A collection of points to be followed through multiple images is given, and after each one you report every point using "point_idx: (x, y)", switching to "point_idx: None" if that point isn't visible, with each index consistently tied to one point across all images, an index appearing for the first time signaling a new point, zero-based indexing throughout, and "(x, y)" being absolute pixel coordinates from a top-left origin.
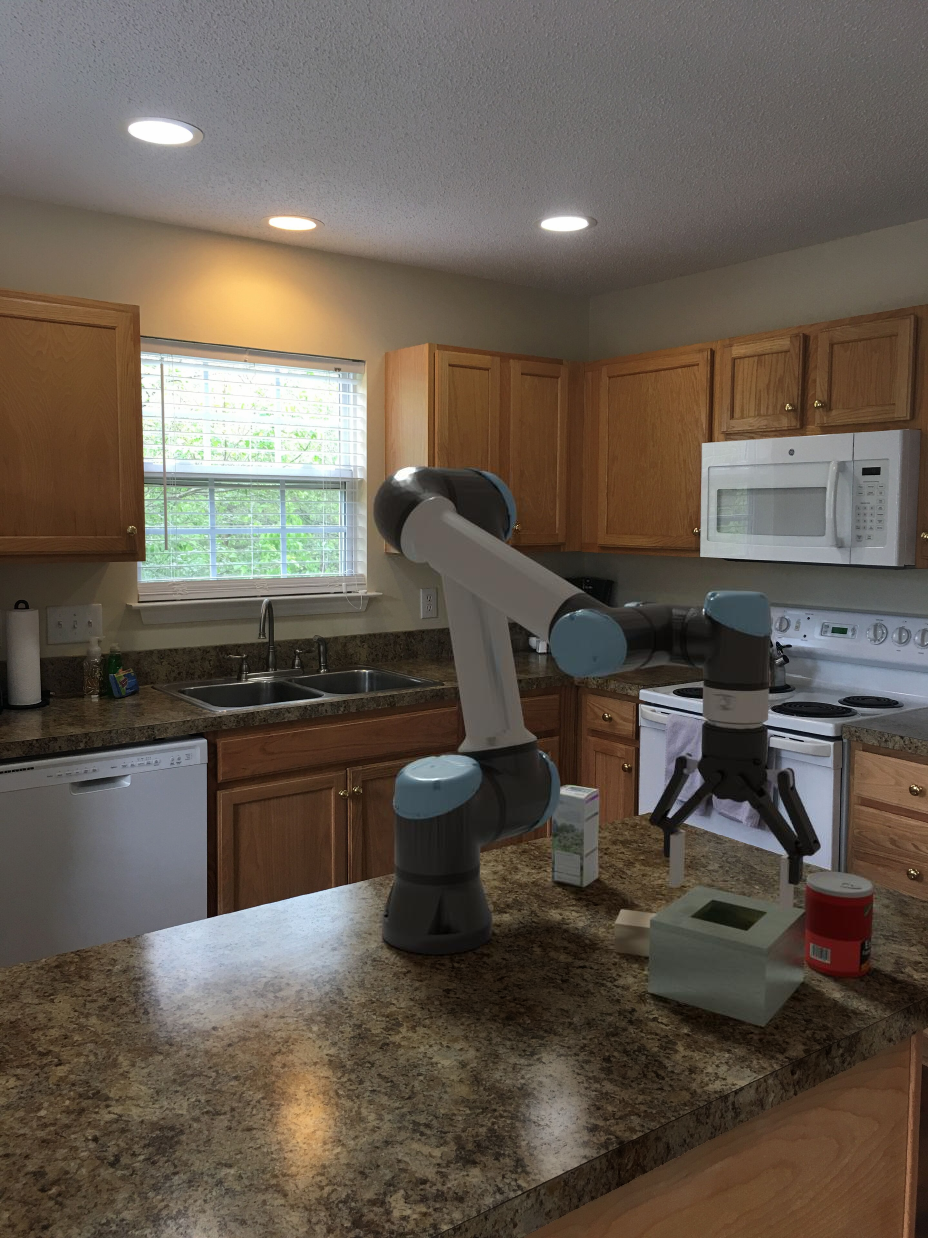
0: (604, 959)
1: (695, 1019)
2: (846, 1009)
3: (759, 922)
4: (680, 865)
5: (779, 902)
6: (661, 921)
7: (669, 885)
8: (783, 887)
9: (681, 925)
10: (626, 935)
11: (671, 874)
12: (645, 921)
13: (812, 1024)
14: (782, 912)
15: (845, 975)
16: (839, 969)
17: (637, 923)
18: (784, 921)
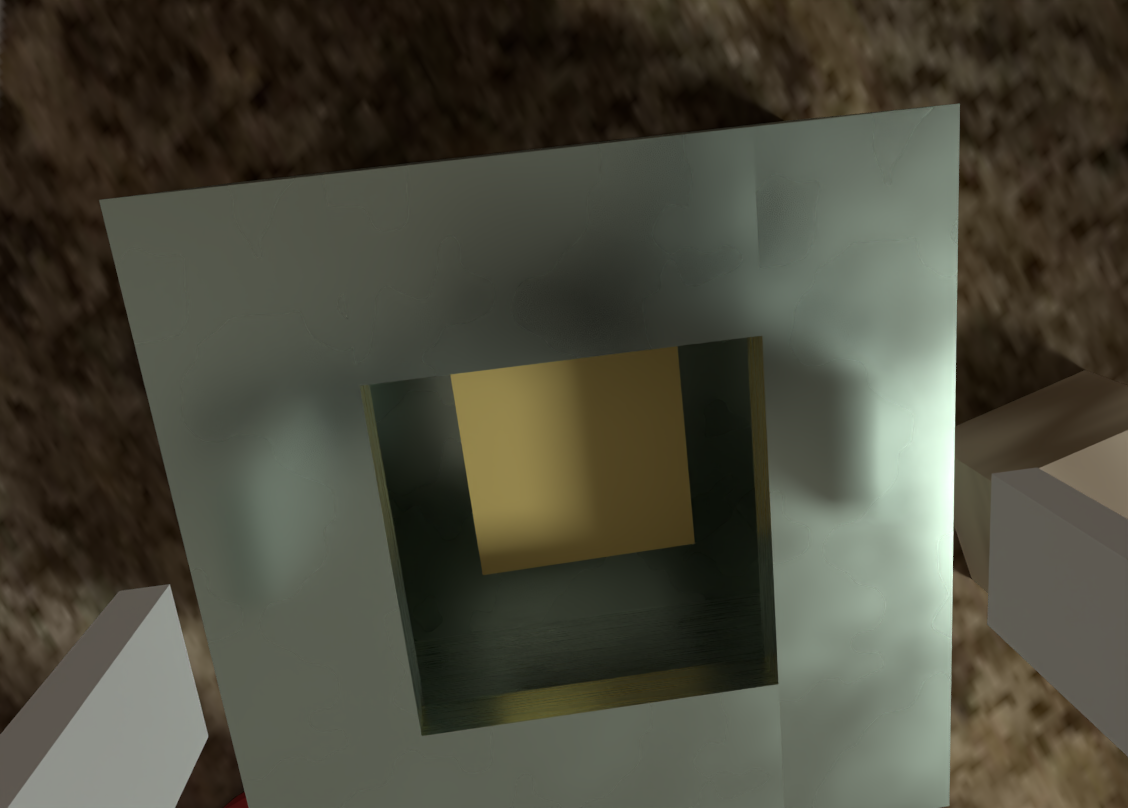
0: (1088, 275)
1: (500, 37)
2: (92, 565)
3: (374, 565)
4: (1084, 638)
5: (140, 624)
6: (880, 127)
7: (1041, 471)
8: (49, 709)
9: (738, 159)
10: (1088, 414)
11: (1086, 506)
12: None
13: (116, 353)
14: (142, 592)
15: (231, 802)
16: (242, 804)
17: (1087, 481)
18: (268, 682)
